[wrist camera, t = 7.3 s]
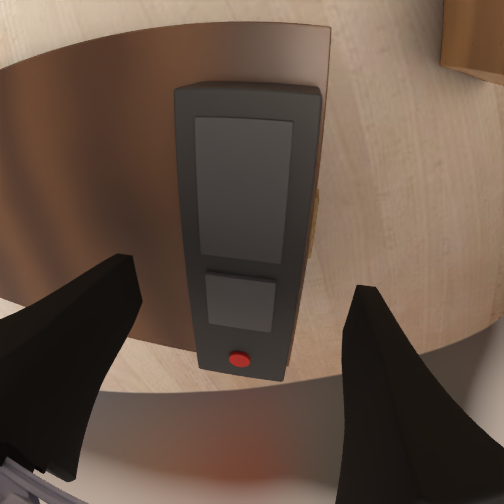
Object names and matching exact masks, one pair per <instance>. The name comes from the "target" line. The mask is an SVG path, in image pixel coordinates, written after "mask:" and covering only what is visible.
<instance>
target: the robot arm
mask: <svg viewBox="0 0 504 504" xmlns="http://www.w3.org/2000/svg"><path fill="white" fill-rule="evenodd" d="M142 302H143V300H142V295H141V291H140V287H139V283H138V278H137V274H136V269H135V264H134V260H133V255H126V254H120V253H117V254H115V255H113V256H111V257H109V258H107V259H106V260H104V261H102V262H101V263H99V264H97V265H96V266H94V267H93V268H91V269H89V270H88V271H86V272H85V273H83V274H81V275H80V276H78V277H77V278H75V279H74V280H72V281H70V282H69V283H67V284H66V285H64V286H62V287H61V288H59V289H57V290H56V291H54V292H52V293H51V294H49V295H47V296H46V297H44V298H42V299H41V300H39V301H37V302H35V303H33V304H32V305H30V306H28V307H26V308H24V309H22V310H20V311H18V312H16V313H14V314H11V315H9V316H7V317H4V318H2V319H0V504H40V502H39V499H38V498H40V499H41V500H43V501H44V502H46V503H48V504H88V503H86V502H84V501H82V500H80V499H78V498H76V497H74V496H72V495H70V494H68V493H66V492H64V491H62V490H60V489H59V488H57V487H55V486H53V485H52V484H50V483H48V482H46V481H45V480H43V479H41V478H40V477H38V476H36V475H35V474H33V471H34V469H36V470H38V471H39V472H41V473H43V474H44V473H45V472H46V471H47V472H49V473H51V474H53V475H55V476H56V477H58V478H60V479H62V480H64V481H66V482H71V481H73V480H75V479H76V474H77V467H78V462H79V456H80V451H81V446H82V443H83V439H84V434H85V431H86V427H87V424H88V421H89V418H90V414H91V411H92V408H93V405H94V403H95V400H96V397H97V395H98V392H99V390H100V387H101V385H102V382H103V380H104V378H105V376H106V374H107V372H108V370H109V369H110V367H111V365H112V363H113V361H114V360H115V358H116V356H117V354H118V352H119V351H120V349H121V347H122V345H123V343H124V342H125V340H126V338H127V336H128V334H129V333H130V331H131V329H132V327H133V325H134V323H135V320H136V318H137V315H138V313H139V310H140V308H141V305H142ZM341 360H342V376H343V395H344V415H345V430H344V432H345V433H344V444H343V455H342V463H341V472H340V478H339V485H338V491H337V496H336V502H335V504H504V448H503V447H502V446H501V445H500V444H499V443H497V442H496V441H495V440H494V439H493V438H491V437H490V436H489V435H488V434H487V433H486V432H485V431H484V430H483V429H482V428H480V427H479V426H478V425H477V424H476V423H475V422H474V421H473V420H472V419H471V418H470V417H469V416H468V415H467V414H466V413H465V412H464V411H463V409H462V408H460V406H459V405H458V404H457V403H456V402H455V401H454V400H453V399H452V398H451V396H450V395H449V394H448V393H447V392H446V391H445V389H444V388H443V387H442V386H441V384H440V383H439V382H438V381H437V379H436V378H435V377H434V376H433V375H432V373H431V372H430V371H429V369H428V368H427V367H426V365H425V364H424V362H423V361H422V359H421V358H420V357H419V355H418V354H417V352H416V351H415V349H414V348H413V346H412V345H411V343H410V342H409V340H408V338H407V337H406V335H405V334H404V332H403V331H402V329H401V327H400V326H399V324H398V323H397V321H396V319H395V318H394V316H393V314H392V313H391V311H390V309H389V308H388V306H387V304H386V303H385V301H384V299H383V298H382V296H381V294H380V293H379V291H378V289H377V288H376V287H372V286H364V285H357V286H356V289H355V293H354V296H353V300H352V303H351V306H350V310H349V313H348V316H347V319H346V322H345V326H344V329H343V336H342V359H341Z"/></svg>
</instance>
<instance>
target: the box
mask: <svg viewBox="0 0 504 504" xmlns="http://www.w3.org/2000/svg"><path fill="white" fill-rule="evenodd" d="M330 45H331V27H328V26H319V25H309V24H297V23H281V22H211V23H195V24H184V25H174V26H165V27H157V28H150V29H143V30H137V31H131V32H126V33H120V34H115V35H110V36H106V37H101V38H97V39H92V40H88V41H84V42H80V43H77V44H73V45H69V46H66V47H62V48H59V49H56V50H52V51H49V52H46V53H43V54H40V55H37V56H34V57H31V58H29V59H26V60H23V61H20V62H18V63H15V64H13V65H10V66H8V67H5V68H3V69H0V298H3V299H5V300H8V301H11V302H13V303H16V304H19V305H22V306H25V307H28V306H30V305H32V304H33V303H35V302H37V301H39V300H41V299H42V298H44V297H46V296H47V295H49V294H51V293H52V292H54V291H56V290H57V289H59V288H61V287H62V286H64V285H66V284H67V283H69V282H70V281H72V280H74V279H75V278H77V277H78V276H80V275H81V274H83V273H85V272H86V271H88V270H89V269H91V268H93V267H94V266H96V265H97V264H99V263H101V262H102V261H104V260H106V259H107V258H109V257H111V256H113V255H115V254H117V253H120V254H126V255H133V260H134V264H135V269H136V274H137V278H138V283H139V287H140V291H141V295H142V300H143V302H142V305H141V308H140V310H139V313H138V315H137V318H136V320H135V323H134V325H133V327H132V329H131V331H130V333H129V334H128V336H127V337H129V338H133V339H137V340H142V341H146V342H150V343H155V344H159V345H164V346H168V347H173V348H178V349H183V350H187V351H193V352H196V345H195V338H194V332H193V324H192V317H191V309H190V302H189V294H188V285H187V277H186V268H185V259H184V249H183V239H182V229H181V217H180V205H179V193H178V179H177V163H176V145H175V123H174V89H176V88H178V87H182V86H186V85H190V84H194V83H198V82H202V81H245V82H268V83H283V84H295V85H306V86H315V87H319V88H320V91H321V94H322V97H323V101H322V112H321V123H320V133H319V143H318V153H317V162H316V171H315V180H314V188H313V196H312V204H311V212H310V220H309V227H308V235H307V242H306V249H305V256H304V263H303V269H302V276H301V282H300V289H299V295H298V301H297V307H296V313H295V319H294V325H293V331H292V337H291V342H290V348H289V353H288V359H287V364H286V366H287V367H288V366H289V361H290V355H291V350H292V345H293V340H294V334H295V329H296V323H297V317H298V312H299V306H300V300H301V294H302V288H303V282H304V276H305V270H306V263H307V258H310V257H311V250H312V244H313V237H314V231H315V224H316V217H317V210H318V202H319V190H318V189H317V184H318V176H319V167H320V159H321V150H322V140H323V131H324V120H325V110H326V99H327V87H328V74H329V60H330Z"/></svg>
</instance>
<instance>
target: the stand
mask: <svg viewBox="0 0 504 504" xmlns="http://www.w3.org/2000/svg"><path fill="white" fill-rule="evenodd" d="M440 65H441V66H444V67H447V68H450V69H453V70H456V71H459V72H462V73H465V74H468V75H471V76H474V77H477V78H479V79H482V80H485V81H487V82H491V83H495V84H499V85H503V86H504V0H444V14H443V35H442V50H441V61H440Z"/></svg>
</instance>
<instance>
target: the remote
mask: <svg viewBox="0 0 504 504" xmlns="http://www.w3.org/2000/svg"><path fill="white" fill-rule="evenodd" d="M322 101H323V97H322V94H321V91H320V88H319V87H315V86H306V85H295V84H283V83H268V82H245V81H202V82H198V83H194V84H190V85H186V86H182V87H178V88H176V89H174V123H175V145H176V163H177V179H178V193H179V205H180V217H181V229H182V239H183V249H184V259H185V268H186V277H187V285H188V294H189V302H190V309H191V317H192V324H193V332H194V338H195V345H196V352H197V358H198V365H199V368H200V369H205V370H210V371H215V372H221V373H226V374H232V375H238V376H244V377H251V378H257V379H264V380H272V381H279V382H282V381H283V380H284V375H285V369H286V364H287V359H288V353H289V348H290V342H291V337H292V331H293V325H294V319H295V313H296V307H297V301H298V295H299V289H300V282H301V276H302V269H303V263H304V256H305V249H306V242H307V235H308V227H309V220H310V212H311V204H312V196H313V188H314V180H315V171H316V162H317V153H318V143H319V133H320V123H321V112H322Z"/></svg>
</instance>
